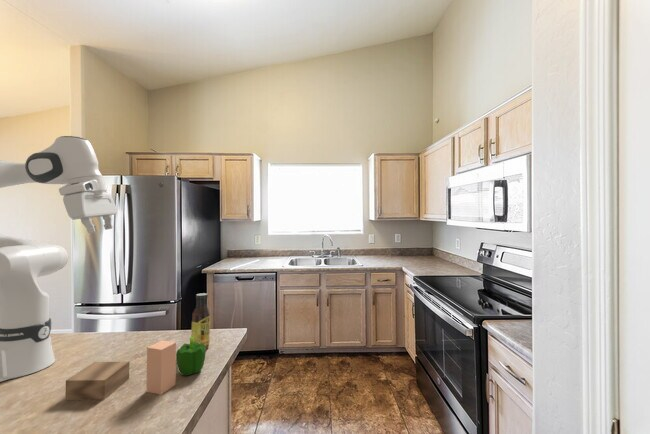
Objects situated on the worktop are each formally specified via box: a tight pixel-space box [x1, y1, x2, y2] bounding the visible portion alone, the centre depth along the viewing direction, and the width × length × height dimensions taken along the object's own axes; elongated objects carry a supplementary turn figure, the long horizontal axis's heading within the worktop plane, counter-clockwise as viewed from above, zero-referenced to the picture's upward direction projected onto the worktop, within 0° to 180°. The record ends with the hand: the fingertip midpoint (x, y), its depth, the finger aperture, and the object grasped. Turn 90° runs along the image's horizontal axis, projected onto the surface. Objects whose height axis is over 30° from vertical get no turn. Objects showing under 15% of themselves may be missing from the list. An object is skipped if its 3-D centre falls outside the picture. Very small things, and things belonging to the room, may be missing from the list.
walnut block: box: [64, 361, 130, 401], centre depth 80 cm, size 10×10×5 cm
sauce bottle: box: [190, 292, 211, 350], centre depth 106 cm, size 7×6×20 cm
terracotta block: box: [146, 340, 177, 395], centre depth 81 cm, size 5×5×12 cm
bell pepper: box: [176, 336, 207, 376], centre depth 90 cm, size 8×8×10 cm
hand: (101, 230), depth 92 cm, fingers open, 8 cm apart
